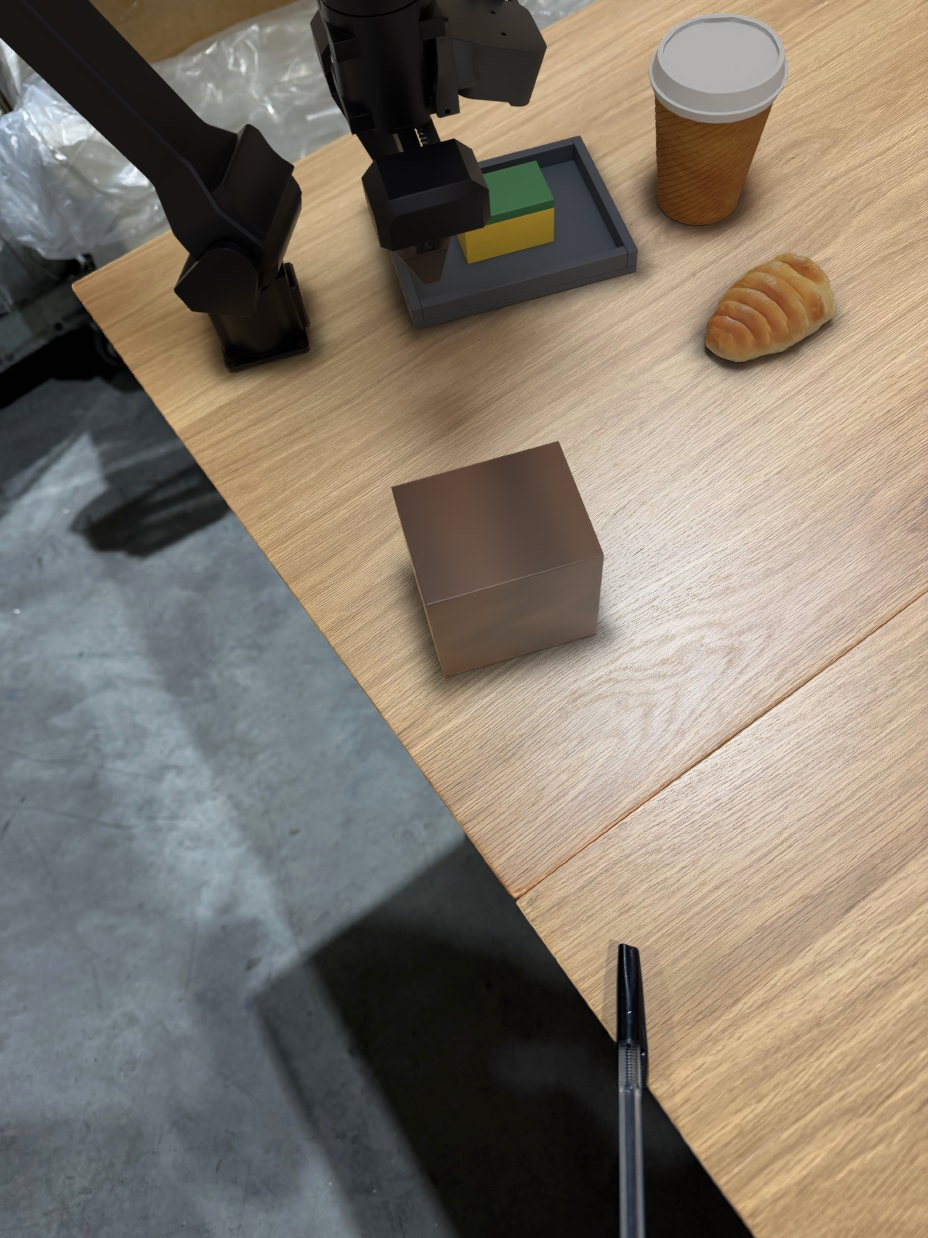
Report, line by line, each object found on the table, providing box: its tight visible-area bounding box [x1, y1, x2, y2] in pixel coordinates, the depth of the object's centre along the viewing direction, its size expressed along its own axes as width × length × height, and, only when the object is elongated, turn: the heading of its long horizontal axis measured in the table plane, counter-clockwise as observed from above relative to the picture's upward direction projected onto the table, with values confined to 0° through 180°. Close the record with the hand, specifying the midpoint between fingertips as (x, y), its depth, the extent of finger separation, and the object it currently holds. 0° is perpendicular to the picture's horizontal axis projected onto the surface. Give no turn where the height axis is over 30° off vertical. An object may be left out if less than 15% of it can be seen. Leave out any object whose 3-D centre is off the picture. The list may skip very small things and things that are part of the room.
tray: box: [387, 135, 639, 331], centre depth 75 cm, size 18×14×2 cm
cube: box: [390, 440, 605, 678], centre depth 58 cm, size 10×8×10 cm
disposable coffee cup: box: [648, 12, 789, 226], centre depth 71 cm, size 10×10×12 cm
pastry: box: [705, 252, 837, 363], centre depth 69 cm, size 9×7×4 cm
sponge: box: [457, 161, 554, 264], centre depth 74 cm, size 7×4×4 cm, turn 105°
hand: (414, 231), depth 62 cm, fingers open, 9 cm apart
